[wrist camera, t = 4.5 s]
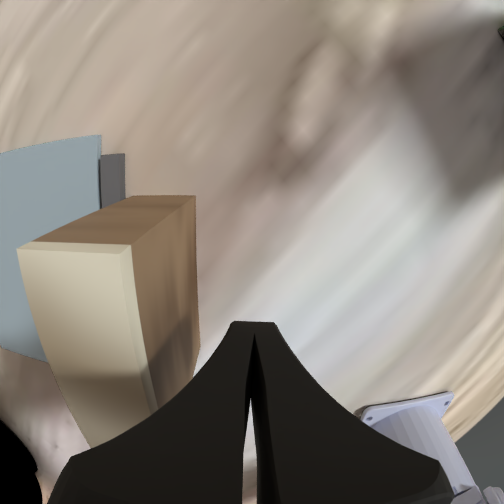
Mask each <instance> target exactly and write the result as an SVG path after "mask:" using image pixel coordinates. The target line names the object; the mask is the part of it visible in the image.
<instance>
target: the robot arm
mask: <svg viewBox="0 0 504 504" xmlns="http://www.w3.org/2000/svg"><path fill="white" fill-rule="evenodd" d="M453 398H454V394H453V392H452V391H450V392H446V393H441V394H437V395H433V396H428V397H423V398H418V399H413V400H408V401H402V402H397V403H390V404H384V405H377V406H370V407H368V408H366V409H365V410H364V411H363V414H362V416H361V418H360V419H358V418H357V417H356V416H354V415H353V414H351V413H350V412H349V411H347V410H346V409H345V408H344V407H343V406H341V405H340V404H339V403H338V402H337V401H336V400H335V399H334V398H332V397H331V396H330V395H329V394H328V393H327V392H326V391H325V390H324V389H323V388H322V387H321V386H320V385H319V384H318V383H317V382H316V380H315V379H314V378H313V377H312V376H311V375H310V374H309V372H308V371H307V370H306V369H305V368H304V366H303V365H302V364H301V362H300V361H299V360H298V358H297V357H296V356H295V354H294V353H293V352H292V350H291V349H290V347H289V346H288V344H287V343H286V341H285V340H284V338H283V336H282V335H281V333H280V331H279V329H278V327H277V325H276V324H275V323H274V322H247V321H234V322H232V323H231V324H230V327H229V329H228V331H227V333H226V335H225V336H224V338H223V340H222V341H221V343H220V344H219V346H218V347H217V349H216V350H215V351H214V353H213V354H212V356H211V357H210V358H209V360H208V361H207V362H206V363H205V365H204V366H203V367H202V368H201V369H200V370H199V372H198V373H197V374H196V375H195V376H194V377H193V379H192V380H191V381H190V382H189V383H188V384H187V385H186V386H185V387H184V388H183V389H182V390H181V391H179V392H178V393H177V394H176V395H175V396H174V397H173V398H172V399H171V400H169V401H168V402H167V403H166V404H164V405H163V406H162V407H161V408H159V409H158V410H157V411H156V412H154V413H153V414H152V415H150V416H149V417H147V418H146V419H145V420H143V421H141V422H140V423H138V424H137V425H135V426H133V427H132V428H130V429H128V430H127V431H125V432H123V433H122V434H120V435H118V436H117V437H115V438H113V439H111V440H109V441H107V442H105V443H103V444H100V445H98V446H96V447H94V448H91V449H89V450H87V451H84V452H82V453H80V454H77V455H74V456H71V457H70V459H69V461H68V463H67V464H66V465H65V467H64V468H63V470H62V472H61V474H60V476H59V478H58V480H57V482H56V484H55V486H54V489H53V491H52V493H51V496H50V498H49V500H48V503H47V504H242V485H243V451H244V444H245V437H246V429H247V422H248V414H249V407H250V399H251V405H252V415H253V425H254V435H255V444H256V454H257V504H486V503H485V500H484V498H483V497H482V494H481V492H480V490H479V488H478V486H476V485H475V483H474V481H473V478H472V477H471V475H470V472H469V471H468V468H467V467H466V465H465V463H464V461H463V459H462V457H461V455H460V453H459V451H458V449H457V447H456V446H455V444H454V442H453V440H452V438H451V436H450V434H449V433H448V431H447V429H446V427H445V425H444V424H443V422H442V420H441V418H442V416H443V415H444V413H445V411H446V410H447V408H448V406H449V405H450V403H451V401H452V399H453ZM483 492H484V494H485V496H486V499H487V503H488V504H504V493H503V492H502V490H501V489H500V488H497V487H494V488H492V487H491V486H489V487H488V488H486V489H485V490H483Z"/></svg>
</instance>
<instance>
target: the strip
mask: <svg viewBox="0 0 504 504" xmlns="http://www.w3.org/2000/svg"><path fill="white" fill-rule="evenodd" d="M100 173H101V199H102V208H104V207H107V206H109V205H112V204H114V203H116V202H119V201H121V200H124V199H125V154H110V155H100Z"/></svg>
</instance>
